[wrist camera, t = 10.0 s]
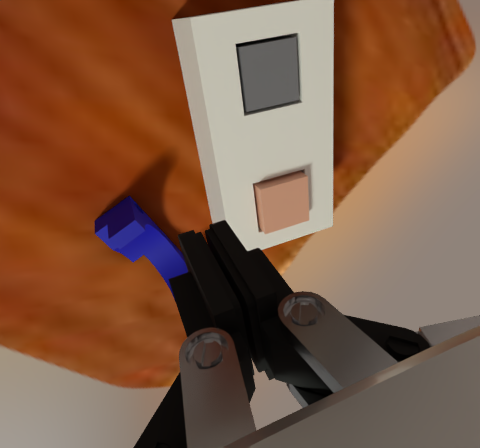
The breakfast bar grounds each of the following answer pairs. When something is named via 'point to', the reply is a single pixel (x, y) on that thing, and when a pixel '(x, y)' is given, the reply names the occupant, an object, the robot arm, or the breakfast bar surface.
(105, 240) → the blue curved piece
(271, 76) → the charcoal plunger
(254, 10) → the block
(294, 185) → the dusty pink cube
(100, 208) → the breakfast bar surface
